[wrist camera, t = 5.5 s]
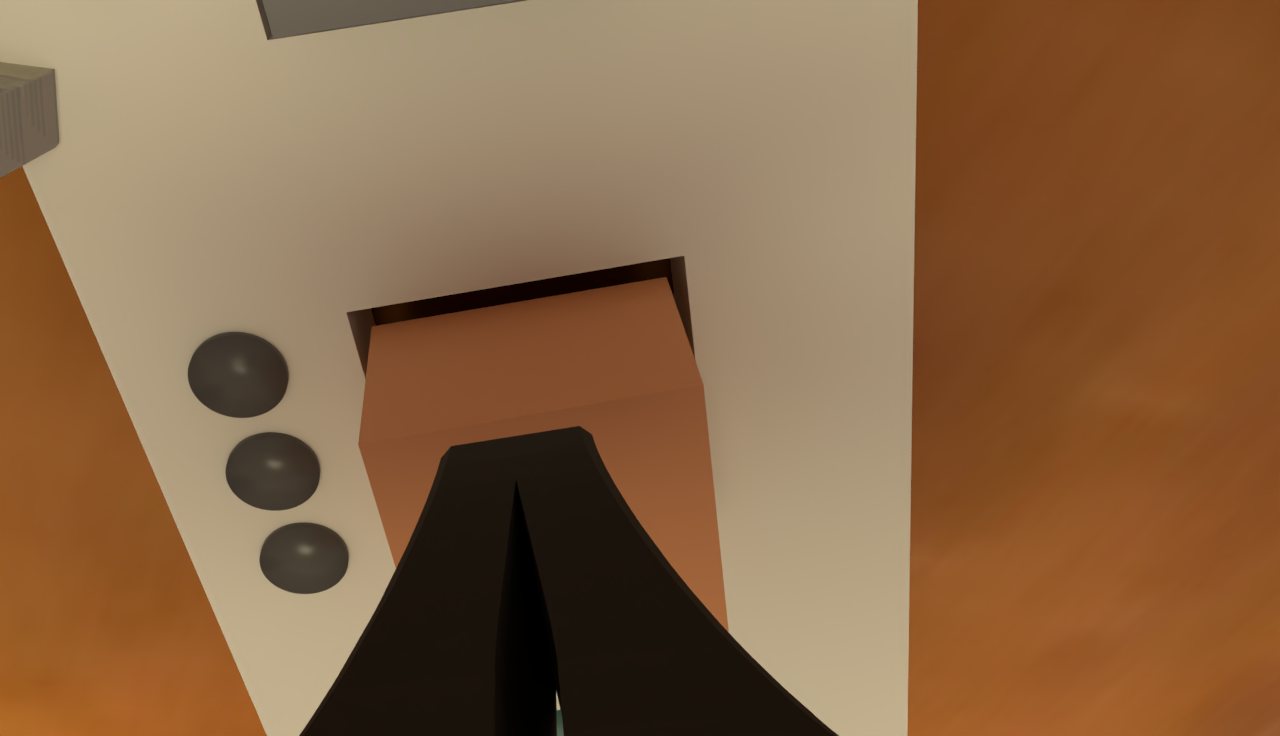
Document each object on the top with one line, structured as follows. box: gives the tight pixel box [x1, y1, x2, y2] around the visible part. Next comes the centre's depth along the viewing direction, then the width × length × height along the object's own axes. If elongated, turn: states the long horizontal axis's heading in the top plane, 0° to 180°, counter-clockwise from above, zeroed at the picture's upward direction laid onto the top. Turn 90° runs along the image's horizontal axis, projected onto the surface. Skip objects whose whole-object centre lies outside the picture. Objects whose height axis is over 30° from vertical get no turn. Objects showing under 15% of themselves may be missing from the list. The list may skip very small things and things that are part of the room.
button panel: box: [0, 0, 918, 736], centre depth 19 cm, size 12×30×2 cm, turn 7°
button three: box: [358, 277, 729, 632], centre depth 17 cm, size 4×4×3 cm
